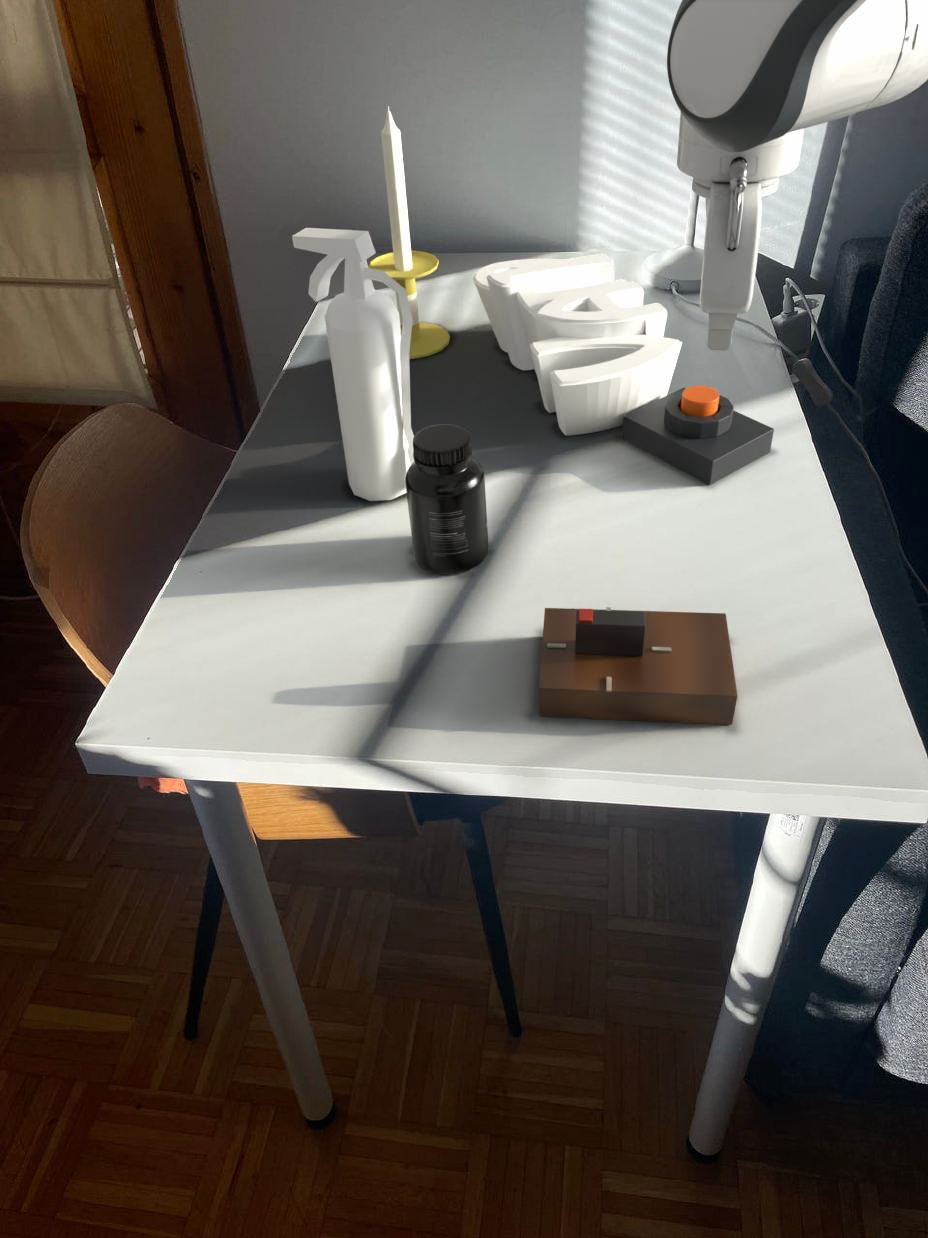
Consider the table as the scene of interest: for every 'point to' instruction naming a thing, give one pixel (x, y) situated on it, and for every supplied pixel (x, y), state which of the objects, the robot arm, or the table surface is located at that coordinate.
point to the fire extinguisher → (366, 362)
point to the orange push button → (700, 401)
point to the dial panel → (641, 672)
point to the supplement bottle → (446, 501)
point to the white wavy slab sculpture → (580, 337)
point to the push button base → (697, 437)
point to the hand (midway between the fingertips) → (719, 321)
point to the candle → (406, 248)
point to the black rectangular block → (609, 632)
